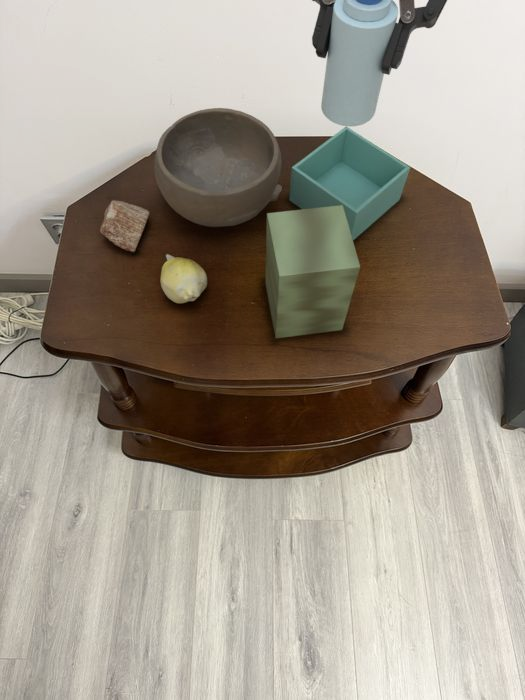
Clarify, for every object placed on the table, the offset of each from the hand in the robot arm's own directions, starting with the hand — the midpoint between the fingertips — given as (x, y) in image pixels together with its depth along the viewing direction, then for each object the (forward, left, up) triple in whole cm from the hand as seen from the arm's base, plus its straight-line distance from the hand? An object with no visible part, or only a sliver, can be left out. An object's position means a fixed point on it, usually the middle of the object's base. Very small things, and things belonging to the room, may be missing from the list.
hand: (353, 63), depth 49 cm
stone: (+26, +11, -30) cm, 42 cm away
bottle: (0, -2, -6) cm, 6 cm away
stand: (-2, +8, -30) cm, 31 cm away
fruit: (+14, +14, -30) cm, 36 cm away
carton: (+2, -12, -30) cm, 33 cm away
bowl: (+18, -2, -30) cm, 36 cm away
